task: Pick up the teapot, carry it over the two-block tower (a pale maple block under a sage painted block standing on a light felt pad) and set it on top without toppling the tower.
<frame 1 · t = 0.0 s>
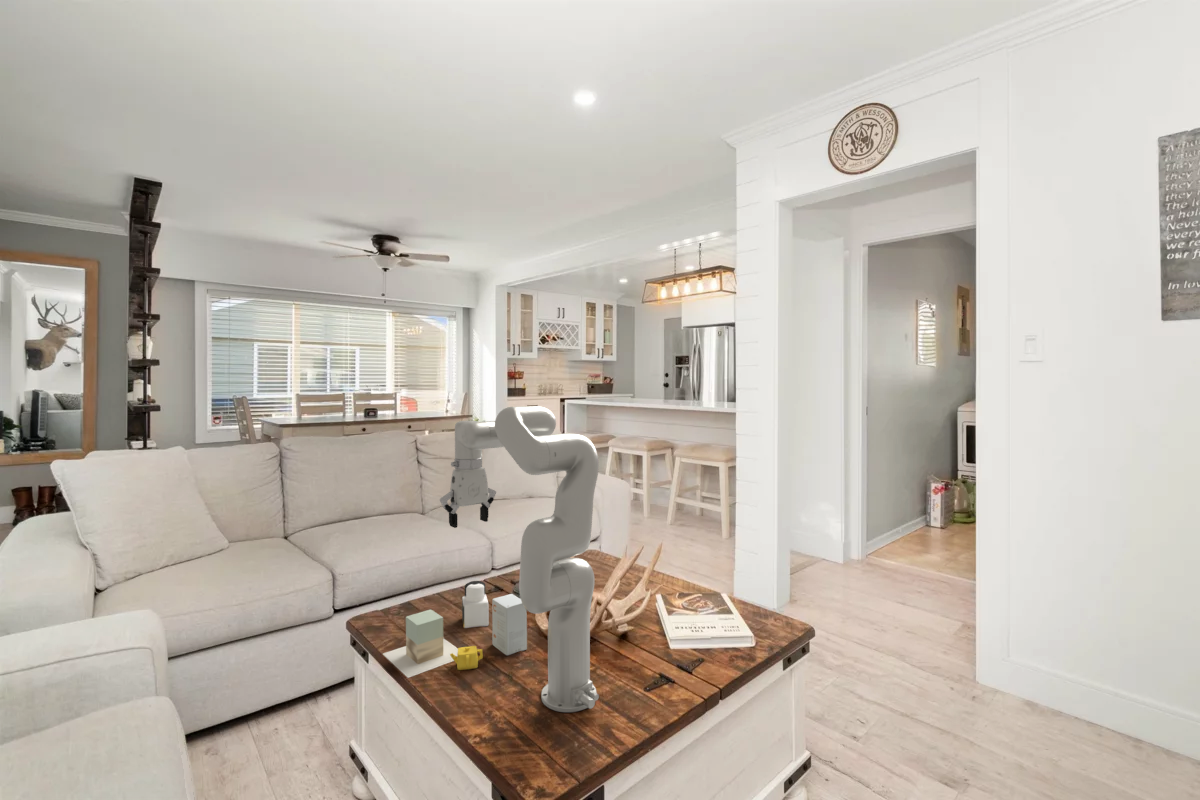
hand: (469, 523, 159), 31 cm above the table, fingers open, 9 cm apart
tower bottom: (424, 654, 146), resting on felt pad, touching tower top
felt pad: (424, 656, 146), on the table
small box: (509, 648, 151), on the table
tower top: (424, 635, 146), point 5 cm above the table, touching tower bottom
teapot: (466, 669, 140), on the table
medicine bottle: (475, 623, 166), on the table
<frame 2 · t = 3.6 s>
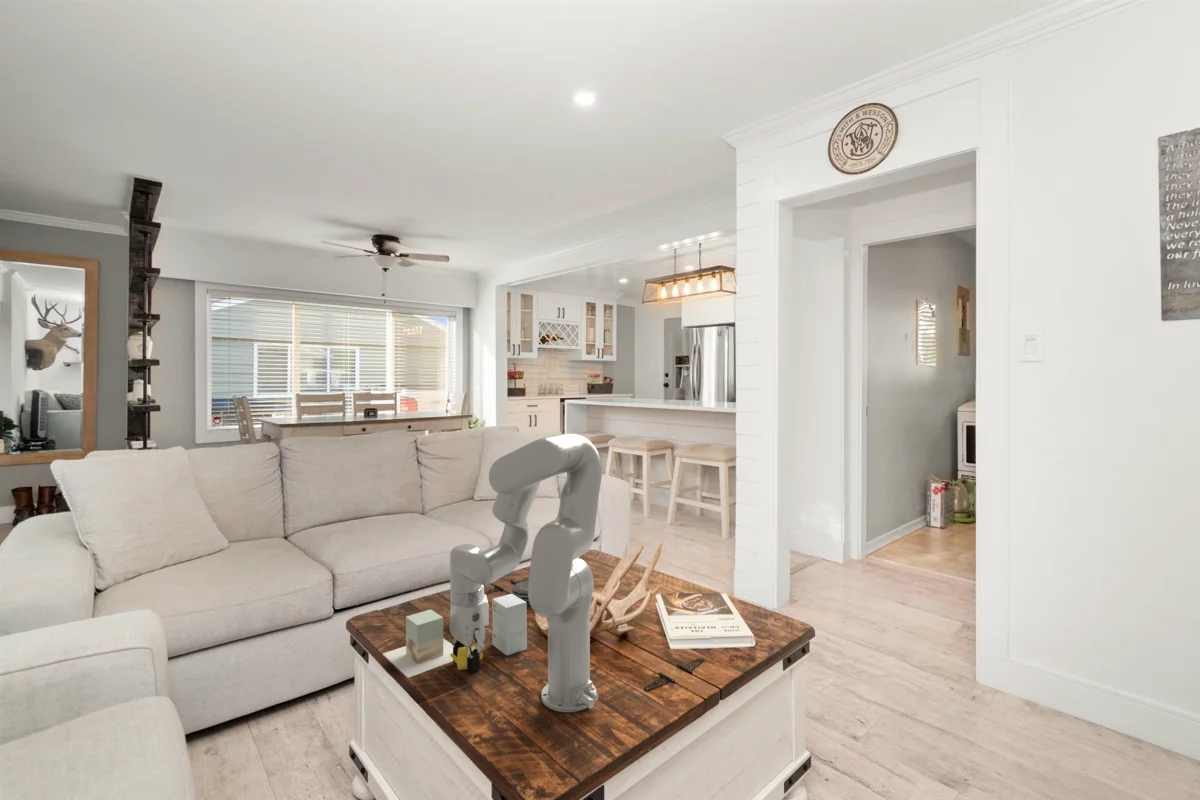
hand: (466, 665, 140), 1 cm above the table, fingers closed on teapot, 6 cm apart
teapot: (466, 669, 140), on the table, touching gripper
everything else where it was.
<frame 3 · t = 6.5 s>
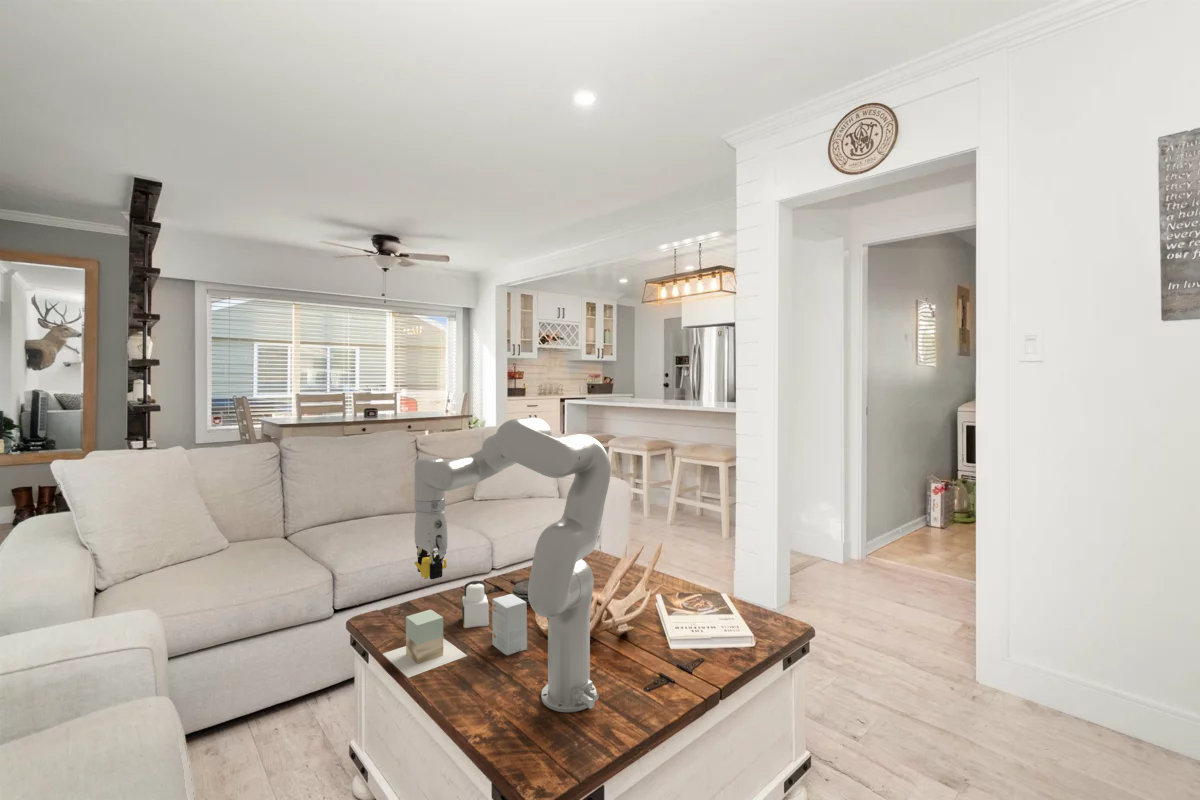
hand: (429, 573, 144), 22 cm above the table, fingers closed on teapot, 6 cm apart
teapot: (430, 577, 144), point 21 cm above the table, touching gripper
everything else where it was.
when the fingers open (12 cm above the table, at t = 9.0 s): teapot stays where it is, resting on tower top.
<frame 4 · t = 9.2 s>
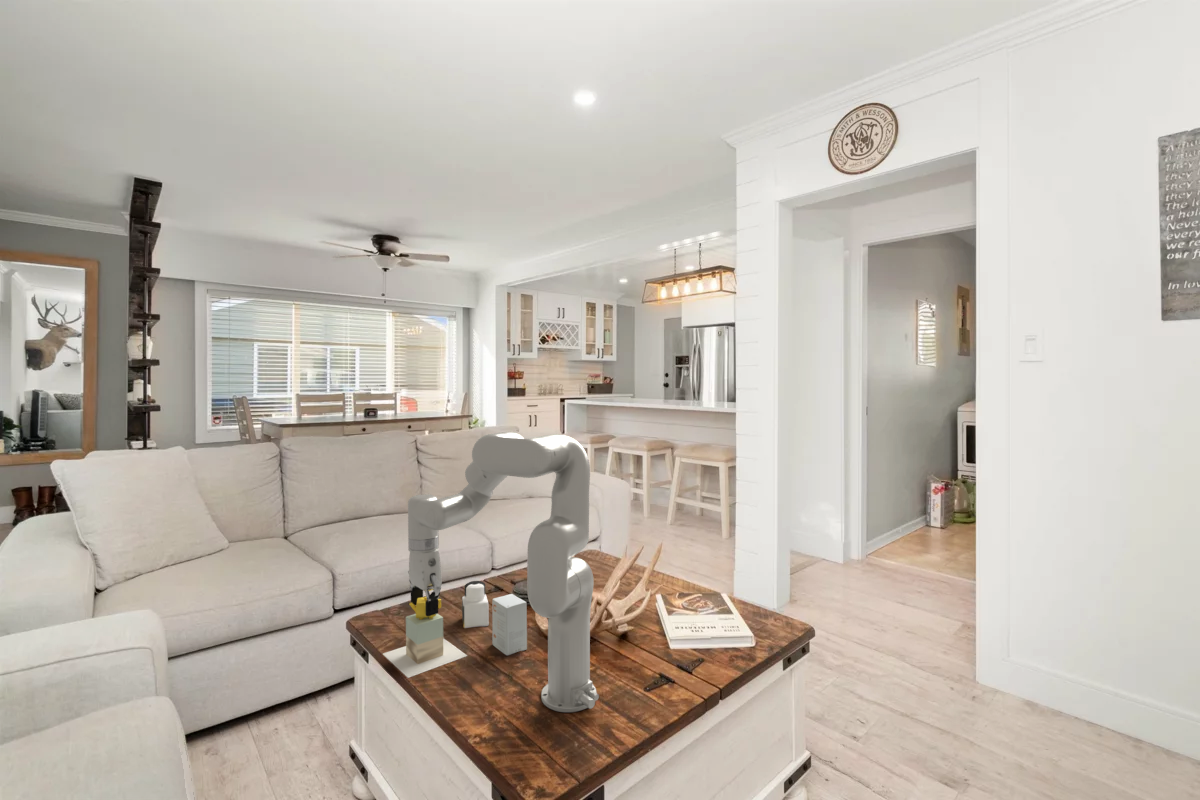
hand: (424, 609, 145), 13 cm above the table, fingers open, 8 cm apart
tower top: (424, 635, 146), point 5 cm above the table, touching tower bottom, teapot
teapot: (425, 618, 145), point 10 cm above the table, touching tower top
everything else where it was.
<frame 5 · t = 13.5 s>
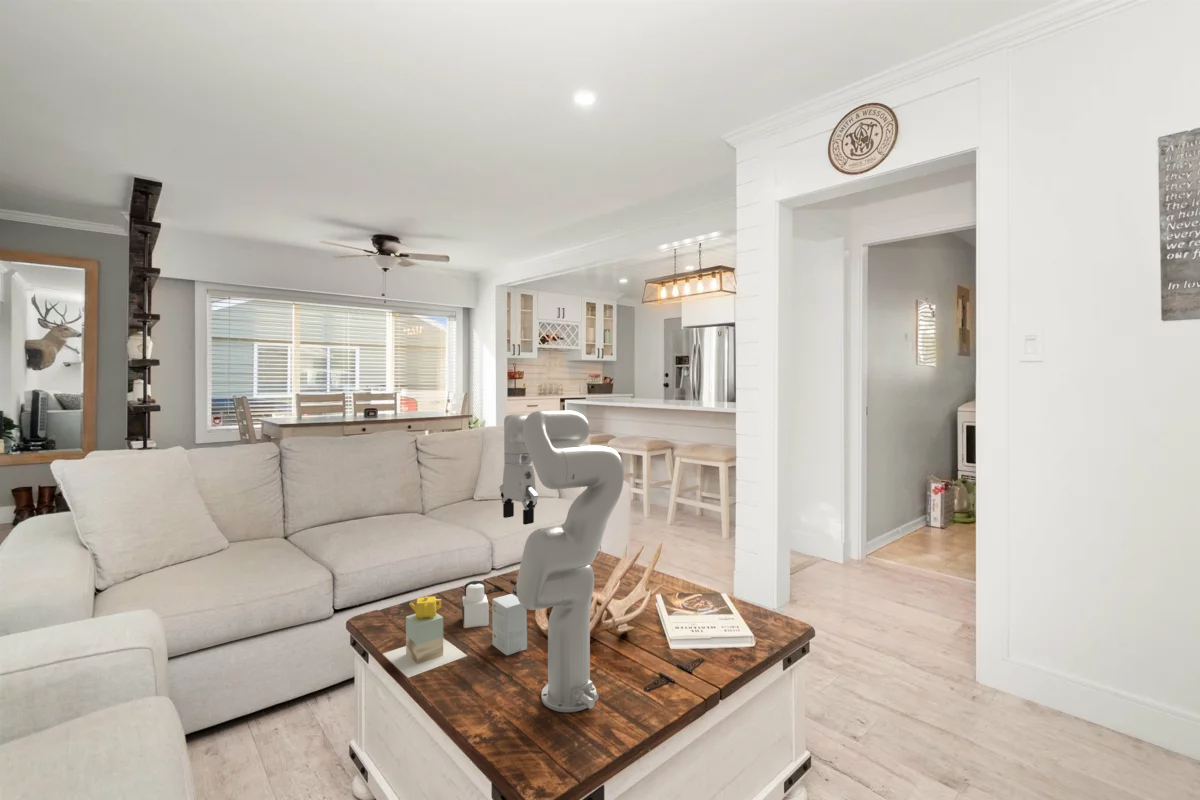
hand: (518, 520, 155), 33 cm above the table, fingers open, 9 cm apart
nothing on the table moved.
at the end: teapot 0.5 cm from the tower top (horizontally); teapot point 10.2 cm above the table; tower top tilted 0° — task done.
